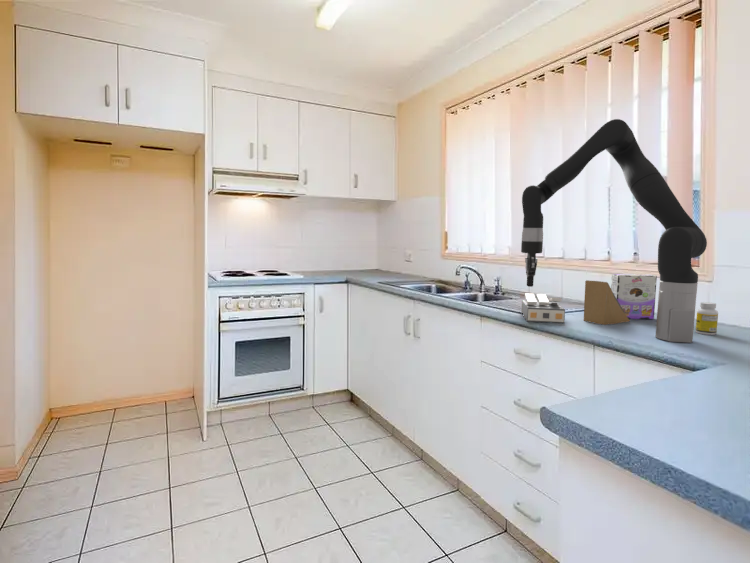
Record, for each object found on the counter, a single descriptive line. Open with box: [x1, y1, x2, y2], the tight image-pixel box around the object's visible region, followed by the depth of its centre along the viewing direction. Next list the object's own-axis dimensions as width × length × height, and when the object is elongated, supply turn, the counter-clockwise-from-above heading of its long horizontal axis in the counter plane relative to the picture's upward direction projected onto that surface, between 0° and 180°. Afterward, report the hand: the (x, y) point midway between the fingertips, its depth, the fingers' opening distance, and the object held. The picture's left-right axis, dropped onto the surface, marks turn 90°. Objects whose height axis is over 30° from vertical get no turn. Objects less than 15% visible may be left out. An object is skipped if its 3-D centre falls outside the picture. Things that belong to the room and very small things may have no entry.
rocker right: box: [547, 297, 563, 303], centre depth 163 cm, size 9×3×1 cm, turn 168°
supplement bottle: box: [695, 301, 719, 336], centre depth 141 cm, size 5×5×10 cm
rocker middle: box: [535, 293, 549, 305], centre depth 164 cm, size 9×3×1 cm, turn 168°
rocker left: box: [524, 293, 538, 305], centre depth 165 cm, size 9×3×1 cm, turn 168°
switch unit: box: [520, 300, 566, 324], centre depth 164 cm, size 19×12×6 cm, turn 168°
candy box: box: [610, 273, 658, 320], centre depth 167 cm, size 14×6×16 cm, turn 84°
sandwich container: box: [583, 279, 630, 326], centre depth 160 cm, size 9×15×15 cm, turn 120°
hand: (529, 286), depth 168 cm, fingers closed
